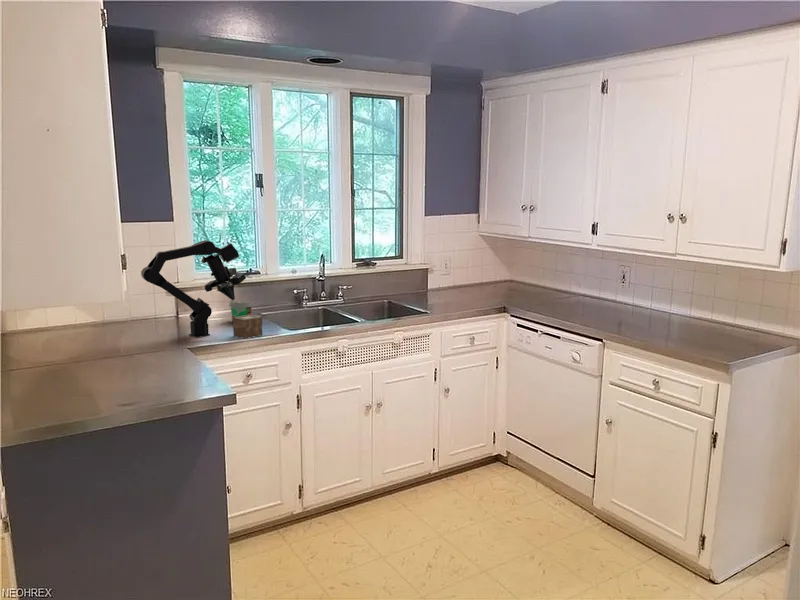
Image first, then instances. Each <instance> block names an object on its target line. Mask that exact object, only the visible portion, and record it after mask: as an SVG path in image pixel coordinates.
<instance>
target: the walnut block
mask: <svg viewBox="0 0 800 600" xmlns="http://www.w3.org/2000/svg"><path fill="white" fill-rule="evenodd" d="M246 316H250V317H253V318H247V319H245V318H241V317H246ZM232 325H233V327H232V328H233V331H232V333H233V337H236V336H238V337H237V338H240V337H243V338H242V339H244V338H246V339H249V338H248V337H251V338H254V337H253V336H256V337H259V336H258V335H261V336H263V317H262V316H259V315H254V314H252V313H251V314H250V315H244V316H238V317H233V321H232Z"/></svg>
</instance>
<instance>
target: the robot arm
mask: <svg viewBox="0 0 800 600" xmlns="http://www.w3.org/2000/svg"><path fill="white" fill-rule="evenodd" d="M191 256H202V259H201V261H200V262H201V263H202V264H205V263H207V265H208V267H209V270H210V271H211V273H210V276H211V277H213V278H214V279H213V280H210V281H208V282H207V283H206V284H205V285H204V290H205V292H206V293H207V292H212V290H213V288H216V291H217V292H220V293H222V294H223V295H224V296H226V297H227V298H228V299H230V301H231V300H234V301H235V299H236V297H235V296H236V295H235V286H237V285H239V284H241V283H243V281H244V280H246V278H247V277H246V275H245V274H244V273H243V272H241V273H238V271H237V268H236V267H231V268H228V266H225V265H224V263H227V264H229V263H230V262H232V261H234V260H236V259H237V258H240V254H239V252H238V250H237V249H236V248H235V246H234V245H233V243H231V242H230V243H228V244H227V245H225V246H223V247H218V246H216V245H215V243H214V242H212V241H211V240H210V241H209V240H205V239H204V240H201V241H198V242H197V243H196V242H195V243H194V244H191V245H190V246H185V247H184V246H183V247H179V248H174V249H169V250H165V251H158V252H157V253H156V254H155V256H154V257H153V259H151V261H150V262H149V263H148V265H147V266H145V267H143V268H142V269H141V271H140V275H141V278H142V279H143V280H144V281H146V283H147V282H148V283H149V284H152V285H155V286H157V287H159V288H161V289H163V290H164V291H165V292H167V293H169V294H170V295H171V296H173V297H174V298H175V299H178V300H179V301H180V302H182V303H183V304H185V305H187V307H189V308H190V309H191V311H192V312H191V313H190V314H189V318H190V322H189V324H190V326H189V327H190V333H189V334H188V336H190V337H193V336H194V338H201V337H200V336H202V337H207V336H211V334H210V333H209V323H208V320H209V317H211V315H212V312H213V310H212V308H211V307H210V304H209V303H208V302H206V301H204V300H203V299H202V298H200V297H197V299H195V298H193V297H192V296H190V295H188V294H187V293H185V292H184V291H183V290H181V289H180V288H179V287H177V286H175V285H174V284H173V283H171V282H169V280H167V279H166V278H165V277H164V276H163V275H162V274H161V273H160V272H161V270H162V268H163V267H164V264H165V263H166V262H167V261H171V260H177V259H182V258H186V257H187V258H188V257H191ZM206 335H207V336H206Z"/></svg>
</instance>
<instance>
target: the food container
mask: <svg viewBox="0 0 800 600" xmlns="http://www.w3.org/2000/svg"><path fill="white" fill-rule="evenodd" d="M228 306H229V307H230V313H231V321H232V322H233V317H238V316H244V315H250V314H251V315H252V307H253V303H252V301H249V302H243V301H235V299H234V300H231V299H230V301H229V305H228Z"/></svg>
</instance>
